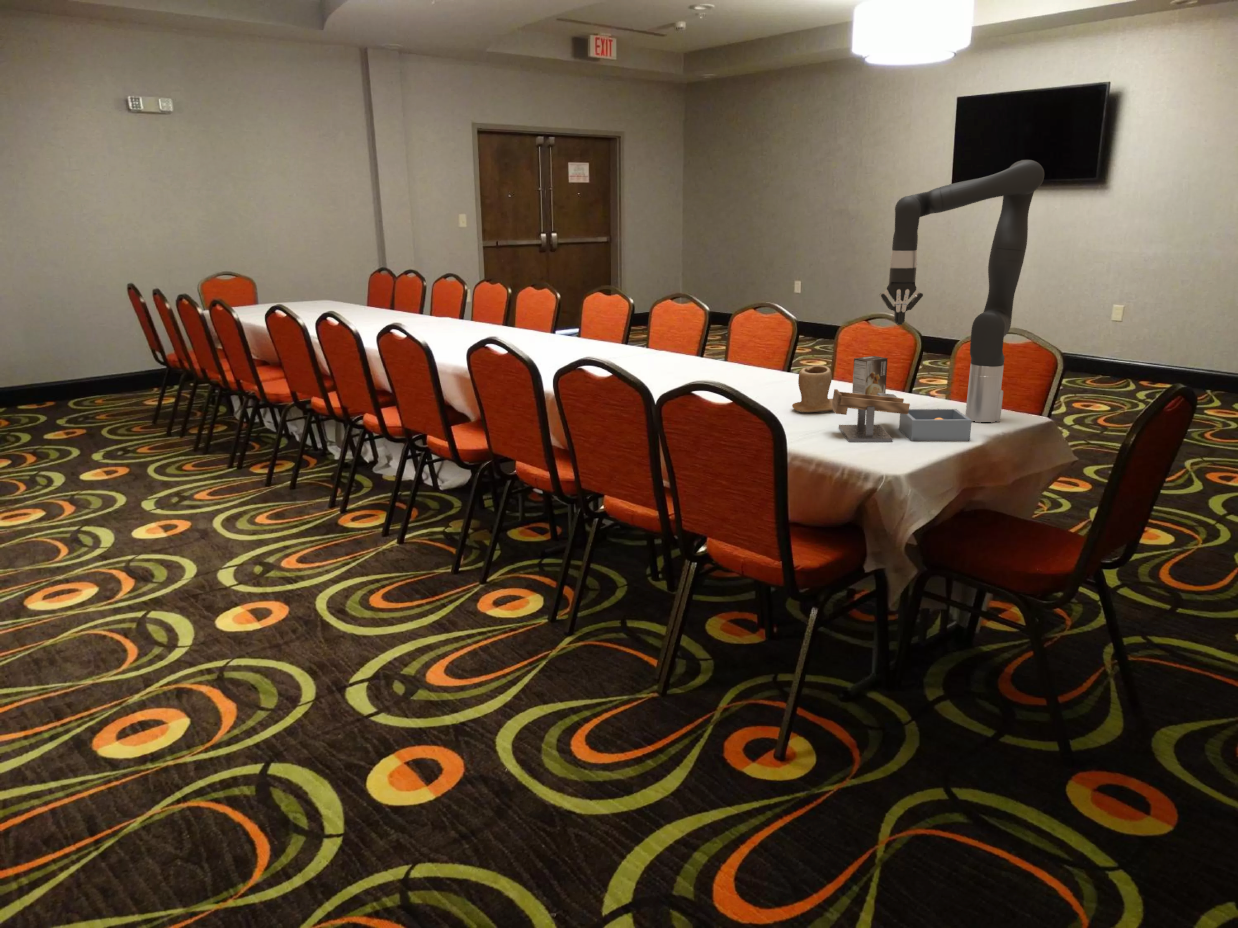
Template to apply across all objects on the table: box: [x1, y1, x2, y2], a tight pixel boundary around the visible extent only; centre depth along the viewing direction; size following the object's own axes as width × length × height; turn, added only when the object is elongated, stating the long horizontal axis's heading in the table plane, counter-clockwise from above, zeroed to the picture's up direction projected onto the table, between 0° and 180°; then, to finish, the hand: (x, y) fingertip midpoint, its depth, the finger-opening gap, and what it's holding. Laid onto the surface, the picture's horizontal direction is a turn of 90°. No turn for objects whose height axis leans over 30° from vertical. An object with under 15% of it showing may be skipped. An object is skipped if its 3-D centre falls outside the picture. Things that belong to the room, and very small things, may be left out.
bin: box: [898, 408, 973, 442], centre depth 241 cm, size 16×14×6 cm
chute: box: [831, 388, 911, 416], centre depth 245 cm, size 20×18×6 cm
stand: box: [838, 406, 893, 443], centre depth 242 cm, size 12×16×10 cm
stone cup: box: [791, 364, 833, 413], centre depth 271 cm, size 15×12×15 cm
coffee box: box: [851, 355, 889, 396], centre depth 277 cm, size 9×6×16 cm
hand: (898, 324), depth 255 cm, fingers closed
